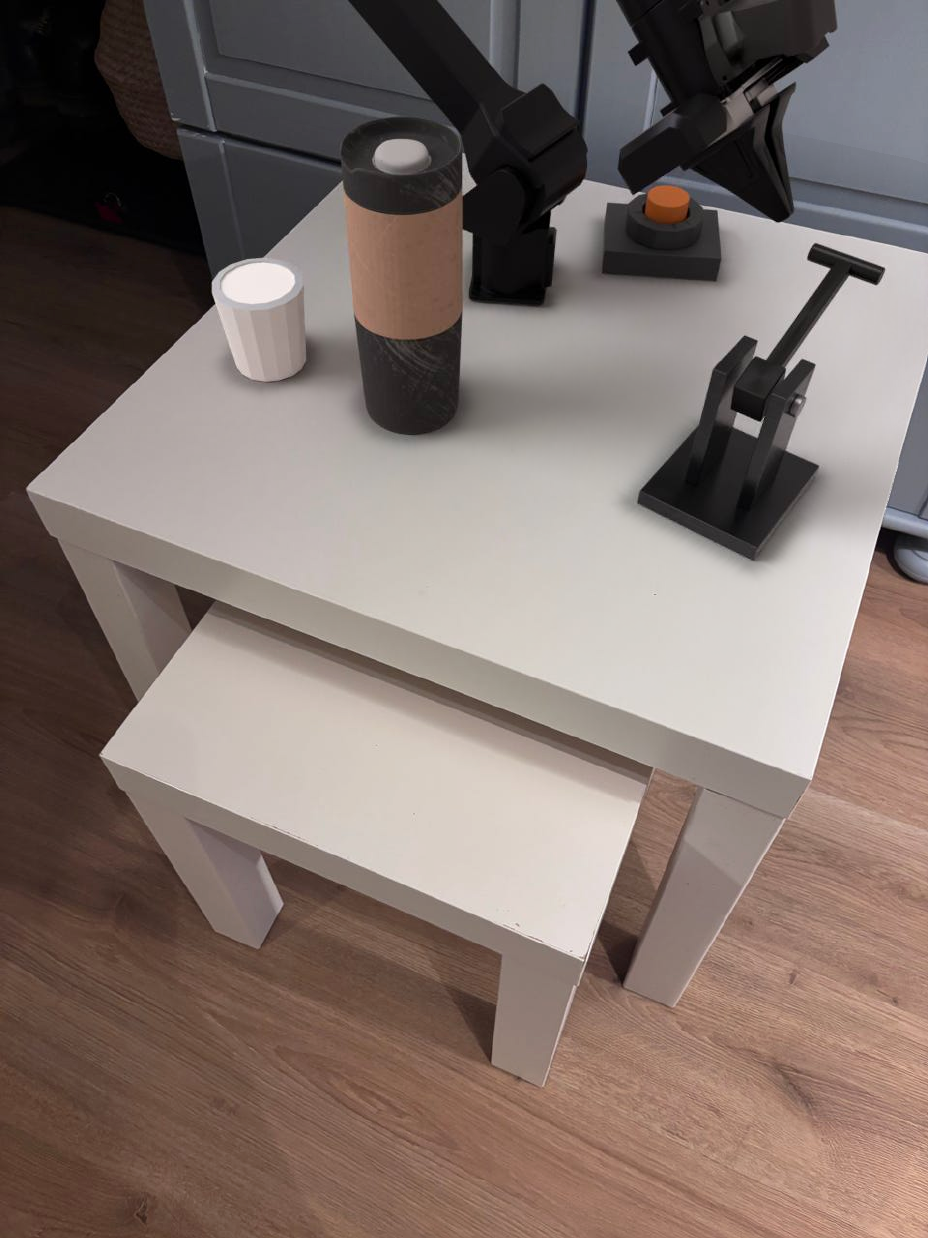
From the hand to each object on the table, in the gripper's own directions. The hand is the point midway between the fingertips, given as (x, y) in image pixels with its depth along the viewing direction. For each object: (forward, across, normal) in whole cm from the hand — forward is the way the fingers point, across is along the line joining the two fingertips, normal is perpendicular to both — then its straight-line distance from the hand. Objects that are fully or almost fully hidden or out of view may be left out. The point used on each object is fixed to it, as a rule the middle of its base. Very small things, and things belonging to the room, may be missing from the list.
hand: (786, 217), depth 66 cm
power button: (-3, +12, +17) cm, 21 cm away
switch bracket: (+13, -12, +6) cm, 19 cm away
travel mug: (-4, -18, +23) cm, 29 cm away
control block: (0, +12, +20) cm, 23 cm away
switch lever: (+7, -6, 0) cm, 9 cm away
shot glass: (-12, -20, +32) cm, 40 cm away
